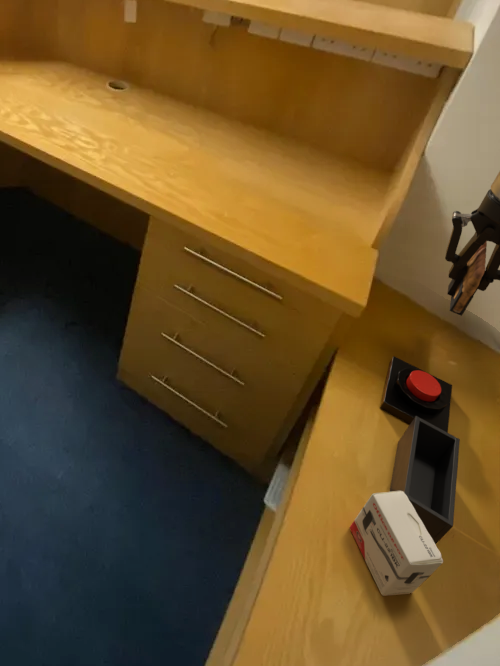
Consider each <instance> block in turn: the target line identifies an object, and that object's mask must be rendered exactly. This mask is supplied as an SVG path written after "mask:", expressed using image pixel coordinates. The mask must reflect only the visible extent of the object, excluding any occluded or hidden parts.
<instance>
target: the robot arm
mask: <svg viewBox="0 0 500 666" xmlns="http://www.w3.org/2000/svg"><path fill="white" fill-rule="evenodd" d="M470 222H471V224H472V226H473V229H474V231H475V232H474V234H473V235H472V237H470V239H469V240H468V241H467V243H466V244H465V245H464V247H463V248H462V249H461V250H460V252H459V253H458V254H457V251H458V247H459V242H460V240H461V236H462V232H463V228H465V227H467V226H468V223H470ZM451 223H452V229H451V234H450V237H449V241H448V244H447V247H446V251H445V258H444V259H445V261H446V262H449V263H452V265H451V267H450V268H449V270H448V279H451V281H450V282H449V284H448V286H447V293H446V294H447V295H448V296H450V297H451V296H452V295H453V294H454V292H455V290H456V289H457V287H458V285H459V284H460V282H461V281H462V279H463V277H464V276H465V274H466V272H467V263H468V261H469V260H470V259H471V258H472V256H473V255H474V254H475V253H476V252H477V250H478V249H479V248H480V247H481V245H483V244H484V243H485V242H486V241H487V242H491V243H493V244H495V245H494V248H493V250H492V253H491V255H490V258H489V260H488V262H487V263H486V265H485V272H484V274H483V276H482V278H481V280H480V283H479V286H478V287H477V289H476V291H475V292H474V295H473V297H474V296H475V295H476V293H477V291H478V290H479V291H481V292H485V291H486V290H487V288H488V287H489V286H490V284H493V283H494V282H495V280H496V281H500V269H499V268H500V170H499V172H498V173H497V175H496V177H495V178H494V180H493V182H492V183H491V185H490V189H488V191H487V192H486V194H485V196H484V197H483V199H482V201H481V203H480V205H479V206H478V207H477V208H476V209H474V210H472V211H471V213H462V212H460V211H459V210H454V211H453V212H452V217H451Z"/></svg>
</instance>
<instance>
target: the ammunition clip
mask: <svg viewBox="0 0 500 666" xmlns="http://www.w3.org/2000/svg"><path fill="white" fill-rule="evenodd" d="M487 245H488V241H486V242H485V243H484V244H483V245H481V247H480V248H479V249H478V250H477V252H476V253H475V254H474V255H473V256H472V258H471V259H470V260H469V261H468V263H467V272H466V274H465V276H464V277H463V279H462V281H461V282H460V284H459V285H458V287H457V289H456V290H455V292H454V294H453V295H452V296H450V303H449V312H451V313H453V314H456V315H458V316H460V317H463V314H464V313H465V312H466V310H467V308H468V306H469V305H470V303H471V302H472V300H473V298H474V296H475V294H474V292H475V291H476V289H477V287H478V286H479V283H480V280H481V278H482V276H483V274H484V272H485V270H486V264H487V263H486V259H487V247H488V246H487ZM477 290H478V289H477ZM476 292H477V291H476ZM473 295H474V296H473Z"/></svg>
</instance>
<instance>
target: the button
mask: <svg viewBox="0 0 500 666" xmlns="http://www.w3.org/2000/svg"><path fill="white" fill-rule="evenodd" d="M423 371H424V370H423ZM423 371H419V370H416V371H413V372H411V374H410V375H409V377H408V378H407V380H406V384H407V387H408V389H409V390H410V392H411V393H412V394H413V395H415V396H416V397H417V398H419V399H421V400H423V401H426V402H433V401H435V400H436V399H437V398H438V396H439V395H440V393H441V386H440V384H439V383H438V381H437V380H436V379H435V378H434V377H433V376H434V375H433V376H431V375H432V374H431V373H429V372H427V371H425V372H423ZM426 372H427V373H426ZM428 373H429V374H428ZM430 374H431V375H430Z"/></svg>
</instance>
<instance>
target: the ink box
mask: <svg viewBox="0 0 500 666" xmlns="http://www.w3.org/2000/svg"><path fill="white" fill-rule="evenodd" d="M349 530H350V532H351V534H352V536H353V539H354V541H355V543H356V544H357V546H358V549H359V551H360V553H361V555H362V557H363V559H364V561H365V564H366V566H367V567H368V569H369V572H370V574H371V576H372V578H373V580H374V582H375V584H376V586H377V588H378V591H379V592H380V595H382V596H383V597H385V596H386V597H387V596H396V595H397V596H399V595H410V593H411V594H413V593H414V592H415V591H416V590H417V589H418V588H419V587H420V586H421V585H422V584H423V583H425V581H426V580H428V579H429V578H430V577H431V576H432V575H433V573H434V572H436V570H438V568H440V566H441V565H443V564H444V559H443V557H442V553H441V551H440V549H439V548H438V547H437V544H436V545H435V543H434V541H433V539H432V538H431V536H430V534H429V533H428V531H427V530H426V528H425V526H424V524H423V522H422V521H421V519H420V518H419V516H418V514H417V513H416V510H415V509H414V507H413V505H412V504H411V502H410V501H409V499H408V497H407V495H406V494H405V493H404V492H403V491H392V492H389V491H384V492H375V493H372V494H371V495H370V497H369V498H368V499H367V501H366V503H365V504H364V506H362V508H361V509H360V511H359V512H358V514H357V516H356V517H355V518H354V520H353V522H351V524H350V525H349Z"/></svg>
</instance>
